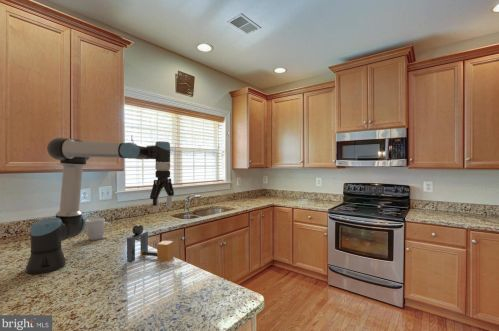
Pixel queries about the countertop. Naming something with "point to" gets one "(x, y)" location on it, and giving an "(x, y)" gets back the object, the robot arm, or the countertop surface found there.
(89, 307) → the countertop surface
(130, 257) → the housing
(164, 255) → the plug
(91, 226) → the mug
